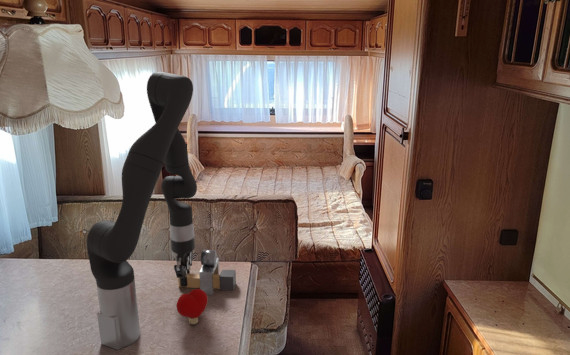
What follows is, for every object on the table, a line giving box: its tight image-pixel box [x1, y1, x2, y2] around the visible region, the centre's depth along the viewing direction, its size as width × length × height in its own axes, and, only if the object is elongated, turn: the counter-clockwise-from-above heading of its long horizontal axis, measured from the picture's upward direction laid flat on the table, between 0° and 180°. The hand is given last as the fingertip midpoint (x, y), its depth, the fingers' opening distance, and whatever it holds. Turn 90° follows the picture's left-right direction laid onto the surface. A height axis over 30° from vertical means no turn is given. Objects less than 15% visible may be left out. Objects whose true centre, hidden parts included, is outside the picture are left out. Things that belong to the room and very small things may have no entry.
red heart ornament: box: [175, 288, 209, 326], centre depth 120 cm, size 9×7×10 cm
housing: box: [198, 249, 220, 296], centre depth 139 cm, size 4×10×13 cm, turn 176°
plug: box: [177, 269, 237, 292], centre depth 141 cm, size 18×4×5 cm, turn 87°
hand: (185, 283), depth 142 cm, fingers closed on plug, 2 cm apart
